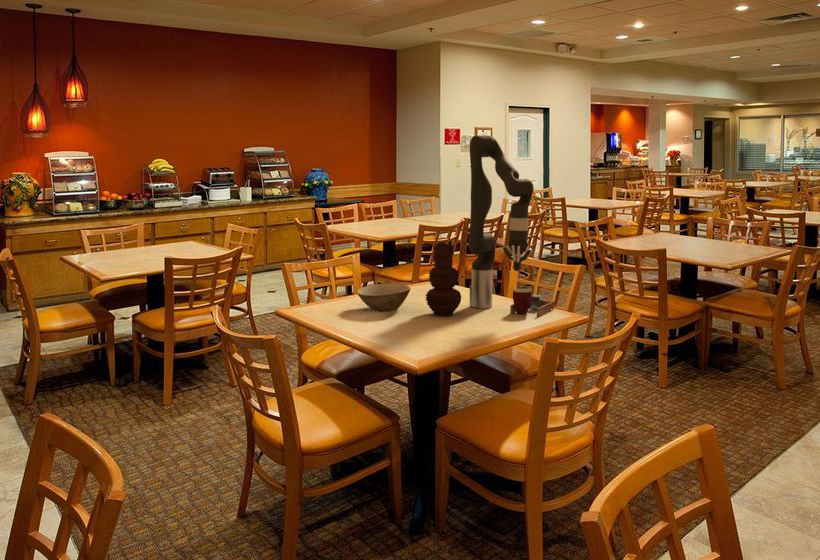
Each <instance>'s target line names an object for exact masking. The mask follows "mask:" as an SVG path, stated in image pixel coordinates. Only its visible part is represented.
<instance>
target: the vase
mask: <svg viewBox="0 0 820 560" xmlns="http://www.w3.org/2000/svg"><path fill="white" fill-rule="evenodd" d="M454 247H455V244H452V243H451V244H448V243H441V244H439V243H438V244H433V245H432V248H433V256H434V257H433V263H434V264H433V265H434V267H432V268H431V269H430V270H429V272H428V280H429V283H430V285H431V287H432V288H431V289H429V290H428V291H426V294H425V296H426V297H425V299H424V300H425V301H426V304H427V306H428V307H429V309H431V311H432V313H433V314H434V316H437V317H445V318H446V317H451V316H453V315H454V313H455V311H456V310H457V309H458V307H459V306H460V304H461V301H462V295H461V292H460V291H459V290H458V289H456V288H454V287H456V285H457V282H458V278H459V273H458V271H457V269H456V268H454V267H453V257H454V256H453V255H454Z"/></svg>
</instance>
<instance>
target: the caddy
mask: <svg viewBox="0 0 820 560" xmlns="http://www.w3.org/2000/svg"><path fill="white" fill-rule="evenodd" d="M509 308H510V311H509V312H510V313H509V314H515V313H517V312H516V310H515V307H514V303H513V304H510V307H509ZM530 308H531V306H530ZM551 309H554V310H555V301H552V300H546V299H545V300H544V299H543V306H542V307H540V308H537V310H536V318H540V317H541V315H542V316H543V314H544V315H545V313H546V314H547V312H548V313H549V311H550V310H551ZM550 312H551V311H550Z"/></svg>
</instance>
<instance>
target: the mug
mask: <svg viewBox="0 0 820 560" xmlns="http://www.w3.org/2000/svg"><path fill="white" fill-rule="evenodd" d="M532 296H533V290H531V289H528V288H515V289H513V290H512V301H513V304H514V307H515V310H516V312H515V313H517V315H526V314H527V313H528V312H529V309H530V310H531V307H530V306H531V298H532Z"/></svg>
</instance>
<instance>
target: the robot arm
mask: <svg viewBox="0 0 820 560" xmlns="http://www.w3.org/2000/svg"><path fill="white" fill-rule="evenodd" d="M469 141H470V142H469V160H470V162H469V163H470V221H469V223H470V224H469V231H468V238H467V239H468V248H469V251H470V252H471V254H473V255H475V256H477V257H476V259H475V260H474V261H473V262H472V263H471V284H470V285H469V307H472V308H474V309H490V308H492V307H493V270H494V269H493V266H494V264H495V259H496V258H495V257H496V241H495V237H494V235H493V234H492V233H490V232H485V231H484V229H485V227H484V226H485V222H486V219H487V217H488V213H489V212H490V209H491V206H492V201H493V188H492V185H491V182H490V181H489V179H488V177H487V175H486V173H485V171H484V167H483V159H482V158H491V159H492V160H493V161H494V162H495V164H494V168H495V173H496V174H497V176H498V177H499V178H500V180H502V182H503V184H504V187H505V190H506V192H507V193H508V195H509V196H511V197H512V198H513V197H514V198H519V200H518V201H515V202H513V203H511V205H510V214H509V215H510V219H509V224H508V225H509V231H508V243H507V245H506V246H504V247H502V250H503V252H504V253H505V254H506V257H508V258H507V259H508V260H511V261H512V263H513V265H512V267H513V268H512V269H513V270H514V271H516V272H519V271H520V270H521V268H522V262H524V261H526V260H527V259H528V258H529V257H530V256H531V254H532V253H533V251H534V249H533V248H530V246H529V243H528V239H529V238H528V236H529V235H528V234H529V206H530V205H531V204H530V203H531V200H532V196H533V193H534V189H535V188H534V183H533V182H532V180H531V179H529V178H520V174H519V172H518V170H517V169H516V168H515V166H513V165H512V163H511V162H510V161H509V160H508V158H507V156H506V155H505V152H504V151H503V149H502V147H501V145H500V143H499V142H498V141H497V139H496V138H495V137H494V136H492V135H474V136H472V137H471V139H470V140H469ZM524 252H525V253H524Z"/></svg>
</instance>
